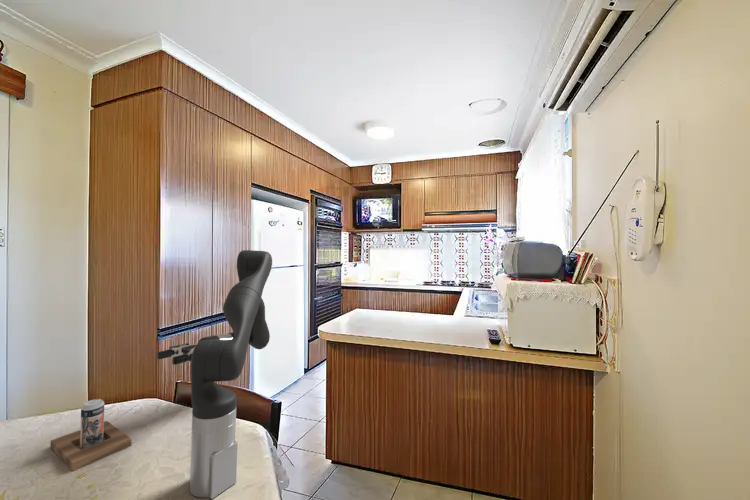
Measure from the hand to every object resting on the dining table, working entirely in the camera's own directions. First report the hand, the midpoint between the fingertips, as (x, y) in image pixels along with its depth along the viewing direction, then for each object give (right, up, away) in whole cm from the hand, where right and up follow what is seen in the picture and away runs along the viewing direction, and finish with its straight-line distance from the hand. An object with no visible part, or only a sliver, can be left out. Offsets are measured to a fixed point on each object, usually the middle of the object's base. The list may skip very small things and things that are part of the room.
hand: (165, 358), depth 94 cm
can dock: (-14, -21, -9) cm, 27 cm away
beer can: (-14, -21, -9) cm, 27 cm away
